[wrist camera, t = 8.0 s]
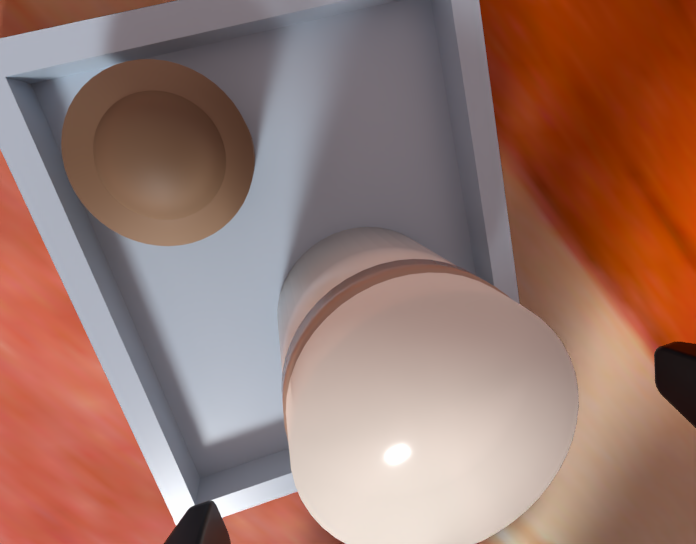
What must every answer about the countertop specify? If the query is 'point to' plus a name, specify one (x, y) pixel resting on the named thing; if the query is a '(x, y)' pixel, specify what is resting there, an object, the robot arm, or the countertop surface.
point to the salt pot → (157, 152)
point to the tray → (259, 203)
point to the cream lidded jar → (416, 394)
